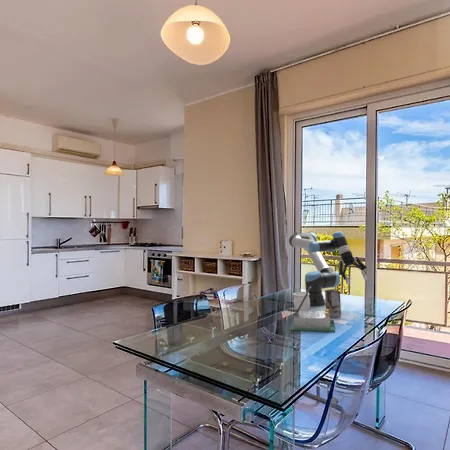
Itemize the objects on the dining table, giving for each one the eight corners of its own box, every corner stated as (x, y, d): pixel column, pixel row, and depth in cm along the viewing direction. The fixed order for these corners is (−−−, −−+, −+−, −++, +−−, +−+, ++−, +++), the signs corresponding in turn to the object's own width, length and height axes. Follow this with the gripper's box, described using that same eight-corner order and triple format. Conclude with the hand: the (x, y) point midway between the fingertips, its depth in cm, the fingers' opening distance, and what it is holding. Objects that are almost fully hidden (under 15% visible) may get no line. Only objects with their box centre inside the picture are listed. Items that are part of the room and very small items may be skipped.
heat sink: (290, 331, 202) (289, 315, 202) (292, 320, 221) (291, 306, 221) (335, 332, 195) (334, 315, 195) (334, 321, 215) (333, 306, 214)
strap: (296, 315, 208) (295, 314, 208) (297, 312, 213) (295, 312, 213) (311, 288, 205) (309, 287, 206) (311, 286, 210) (309, 285, 210)
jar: (311, 314, 234) (310, 291, 233) (309, 318, 224) (308, 295, 224) (295, 313, 237) (294, 291, 237) (293, 317, 227) (291, 295, 227)
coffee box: (341, 316, 224) (340, 291, 224) (332, 317, 223) (330, 292, 223) (334, 312, 233) (333, 288, 233) (325, 313, 232) (324, 289, 232)
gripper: (331, 254, 237) (343, 284, 229) (363, 247, 242) (376, 276, 234) (327, 257, 243) (338, 287, 236) (358, 251, 249) (370, 279, 241)
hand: (357, 281), depth 235 cm, fingers open, 13 cm apart
